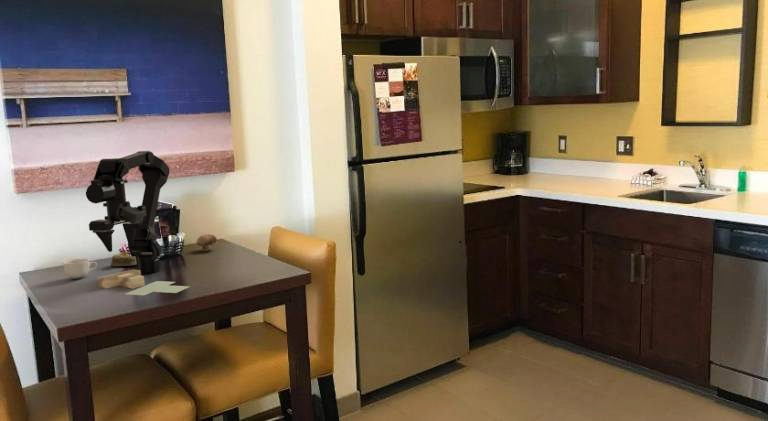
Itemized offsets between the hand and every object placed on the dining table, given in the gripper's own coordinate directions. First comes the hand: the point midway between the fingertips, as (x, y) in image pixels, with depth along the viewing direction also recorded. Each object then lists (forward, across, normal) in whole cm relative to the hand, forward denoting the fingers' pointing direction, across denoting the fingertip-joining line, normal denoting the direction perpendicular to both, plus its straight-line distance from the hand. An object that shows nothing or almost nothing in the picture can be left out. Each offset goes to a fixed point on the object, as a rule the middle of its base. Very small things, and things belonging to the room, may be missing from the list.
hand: (120, 248), depth 193 cm
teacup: (+11, +5, +21) cm, 24 cm away
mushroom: (+11, +48, +1) cm, 49 cm away
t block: (+11, -2, -3) cm, 12 cm away
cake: (+12, +22, +18) cm, 31 cm away
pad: (+11, -4, -17) cm, 21 cm away
